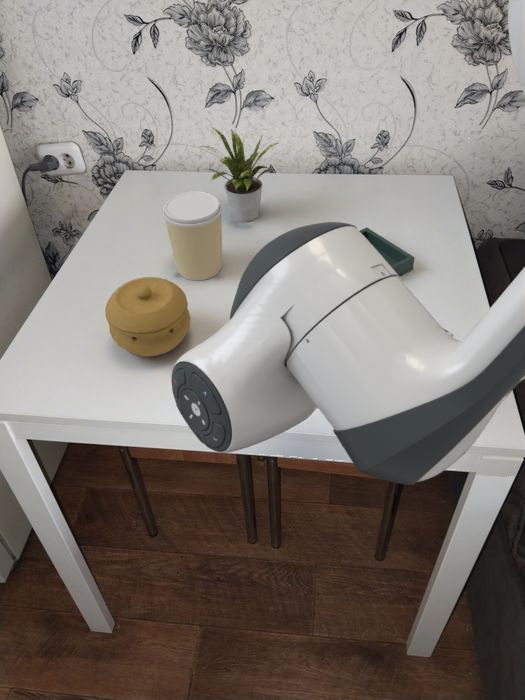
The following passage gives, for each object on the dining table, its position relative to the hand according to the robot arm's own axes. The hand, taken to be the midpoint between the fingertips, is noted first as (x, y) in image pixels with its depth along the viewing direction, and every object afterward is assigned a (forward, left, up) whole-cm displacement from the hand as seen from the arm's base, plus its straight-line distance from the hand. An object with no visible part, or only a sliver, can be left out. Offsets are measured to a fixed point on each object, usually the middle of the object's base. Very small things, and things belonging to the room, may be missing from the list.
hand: (406, 312), depth 62 cm
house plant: (+35, -45, -20) cm, 60 cm away
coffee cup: (+36, -27, -20) cm, 49 cm away
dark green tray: (+9, -34, -19) cm, 40 cm away
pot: (+36, -8, -20) cm, 41 cm away
